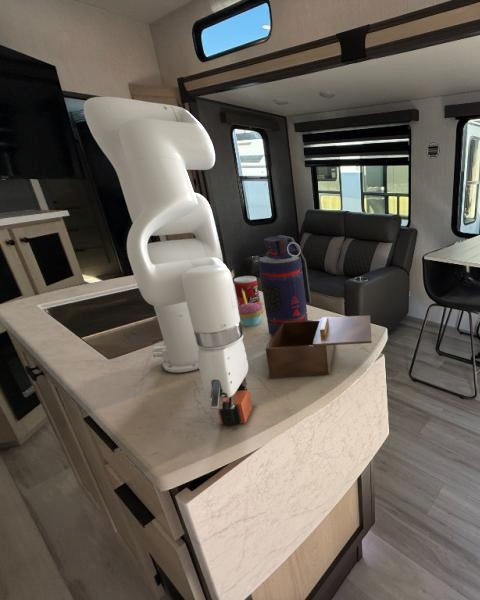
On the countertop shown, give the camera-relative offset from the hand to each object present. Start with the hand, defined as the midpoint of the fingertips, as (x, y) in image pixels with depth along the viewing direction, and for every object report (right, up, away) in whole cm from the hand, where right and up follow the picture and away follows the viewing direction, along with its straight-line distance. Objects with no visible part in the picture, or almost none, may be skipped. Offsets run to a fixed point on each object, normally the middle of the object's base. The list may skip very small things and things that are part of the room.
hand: (237, 413), depth 64 cm
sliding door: (+18, +15, +19) cm, 31 cm away
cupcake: (-17, +15, +43) cm, 49 cm away
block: (0, -1, 0) cm, 1 cm away
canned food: (-25, +21, +58) cm, 66 cm away
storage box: (+8, +7, +21) cm, 23 cm away
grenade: (-1, +13, +37) cm, 39 cm away
